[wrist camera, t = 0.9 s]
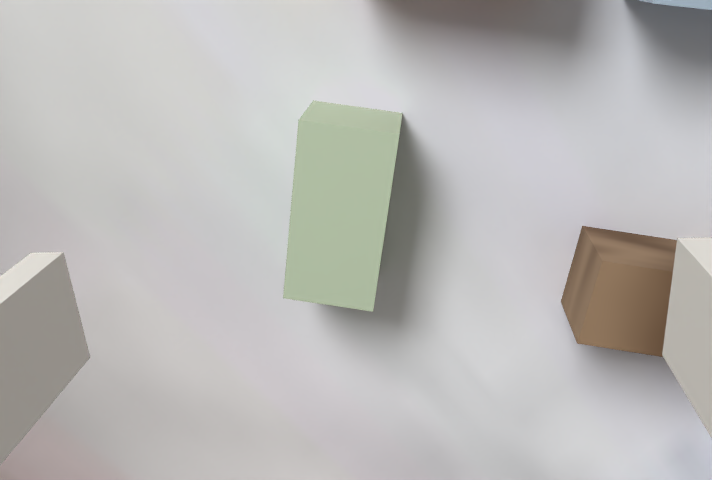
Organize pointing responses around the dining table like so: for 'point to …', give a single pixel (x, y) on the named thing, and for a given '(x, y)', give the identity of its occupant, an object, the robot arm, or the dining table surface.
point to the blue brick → (684, 3)
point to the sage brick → (340, 204)
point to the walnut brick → (620, 290)
